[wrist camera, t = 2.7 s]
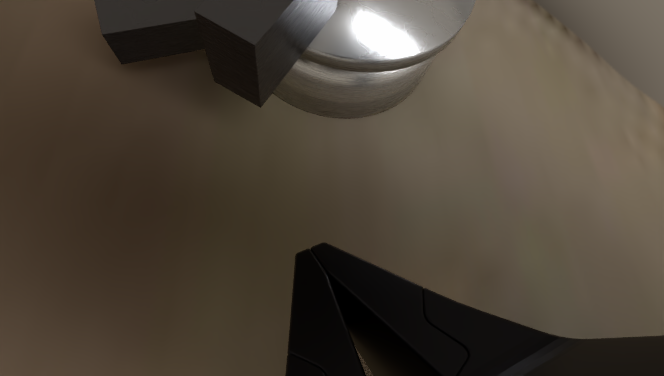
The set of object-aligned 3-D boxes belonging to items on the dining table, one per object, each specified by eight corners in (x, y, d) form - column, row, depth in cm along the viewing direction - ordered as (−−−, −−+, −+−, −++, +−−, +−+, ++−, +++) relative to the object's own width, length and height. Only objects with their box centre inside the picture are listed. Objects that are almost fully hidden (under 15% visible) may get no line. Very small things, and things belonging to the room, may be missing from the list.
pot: (493, 82, 26) (540, 33, 21) (160, 172, 19) (122, 130, 15) (416, -48, 29) (442, -115, 24) (115, -7, 23) (73, -86, 18)
